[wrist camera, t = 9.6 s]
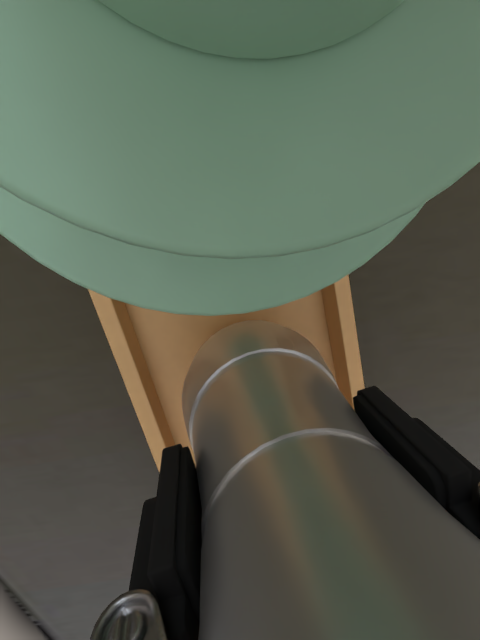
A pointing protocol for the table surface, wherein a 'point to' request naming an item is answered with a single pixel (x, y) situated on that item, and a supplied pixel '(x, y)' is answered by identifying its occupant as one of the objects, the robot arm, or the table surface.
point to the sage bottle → (228, 139)
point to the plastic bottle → (312, 507)
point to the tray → (194, 330)
